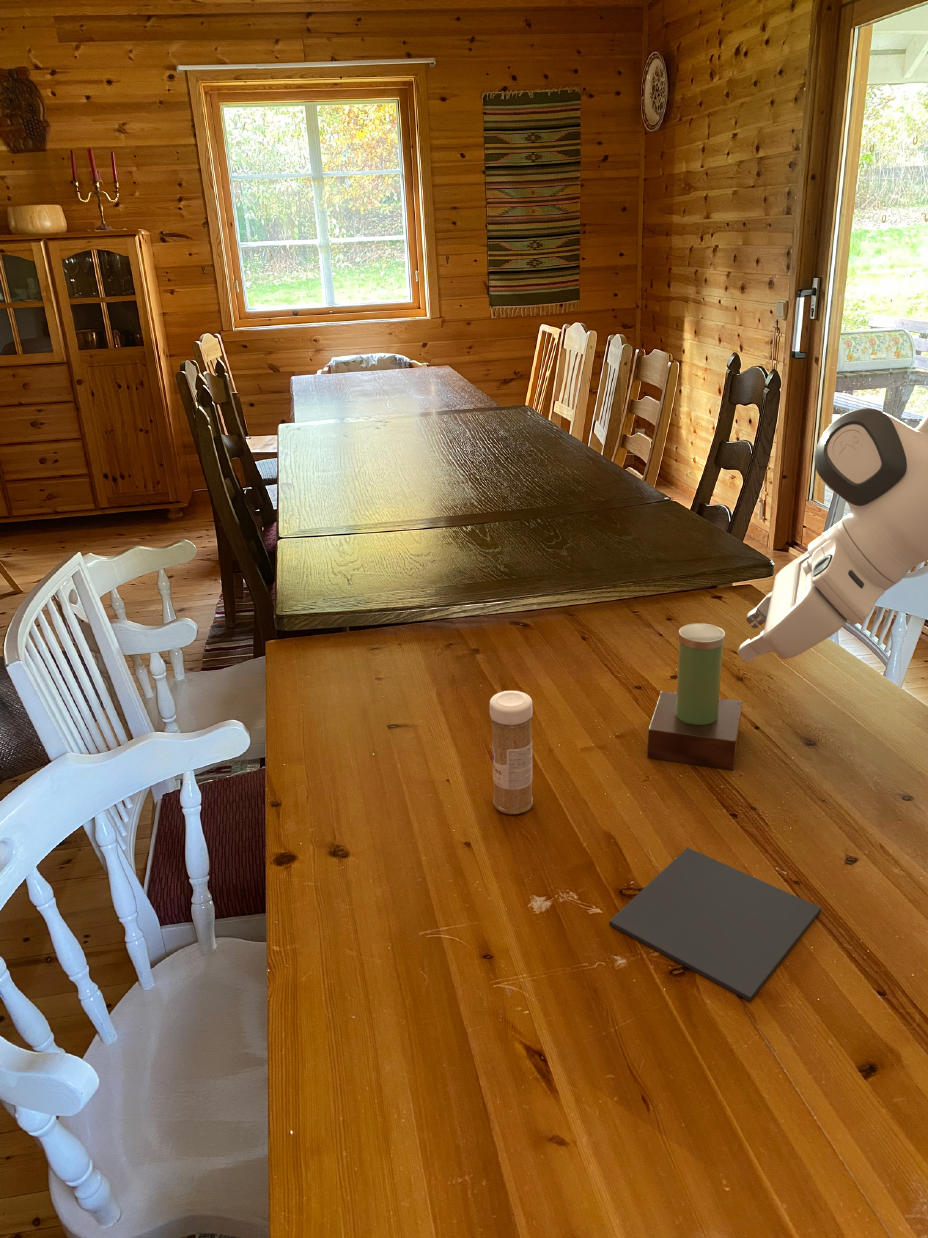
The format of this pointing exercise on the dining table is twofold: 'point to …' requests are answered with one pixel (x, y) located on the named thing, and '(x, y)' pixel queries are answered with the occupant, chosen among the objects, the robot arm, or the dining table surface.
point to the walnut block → (694, 735)
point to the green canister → (699, 673)
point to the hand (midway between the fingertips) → (746, 638)
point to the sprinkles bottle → (512, 751)
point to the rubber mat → (717, 921)
